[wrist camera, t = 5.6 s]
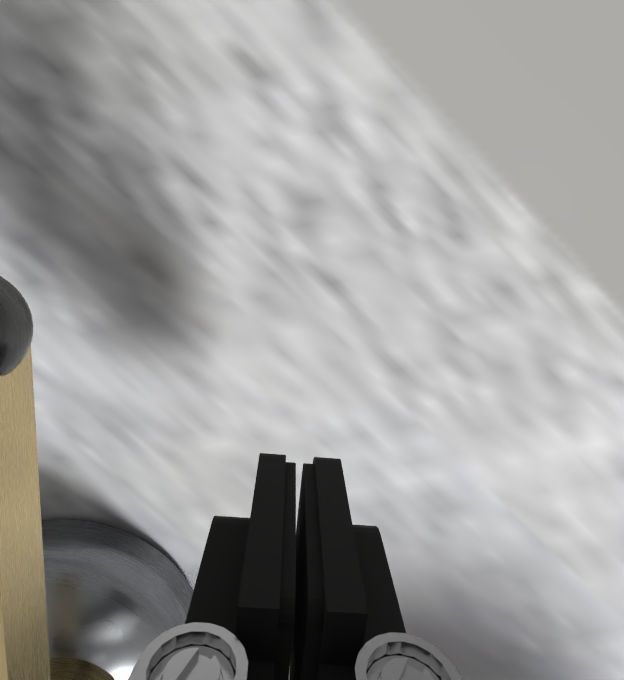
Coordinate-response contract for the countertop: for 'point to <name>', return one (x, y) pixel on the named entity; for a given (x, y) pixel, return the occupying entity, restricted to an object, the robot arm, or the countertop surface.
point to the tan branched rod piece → (66, 554)
